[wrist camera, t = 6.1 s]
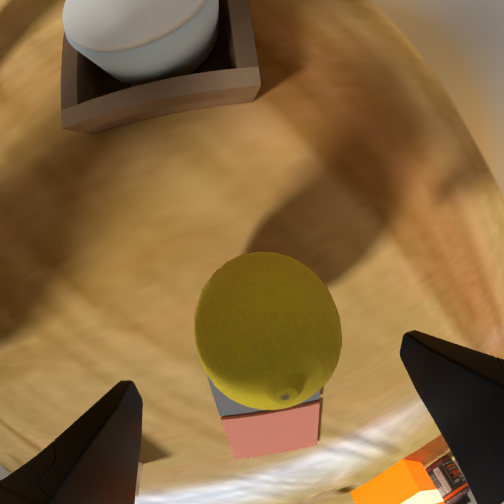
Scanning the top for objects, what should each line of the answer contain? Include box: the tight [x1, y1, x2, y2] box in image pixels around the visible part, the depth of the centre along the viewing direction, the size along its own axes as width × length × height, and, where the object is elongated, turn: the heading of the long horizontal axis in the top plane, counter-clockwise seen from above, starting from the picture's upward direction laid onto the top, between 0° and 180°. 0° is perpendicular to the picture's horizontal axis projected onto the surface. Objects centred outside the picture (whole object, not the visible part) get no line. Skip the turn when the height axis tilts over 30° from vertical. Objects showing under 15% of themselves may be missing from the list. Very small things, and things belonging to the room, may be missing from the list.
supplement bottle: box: [426, 456, 471, 504], centre depth 23 cm, size 6×6×11 cm
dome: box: [62, 0, 219, 86], centre depth 7 cm, size 6×6×4 cm
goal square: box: [221, 401, 320, 459], centre depth 19 cm, size 7×6×1 cm
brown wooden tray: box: [61, 0, 261, 134], centre depth 9 cm, size 8×8×3 cm
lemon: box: [194, 251, 342, 410], centre depth 11 cm, size 6×6×8 cm
